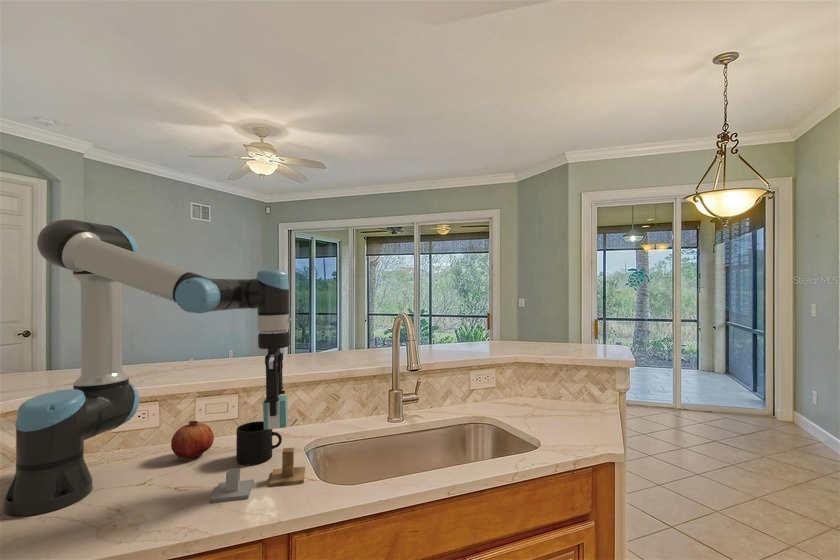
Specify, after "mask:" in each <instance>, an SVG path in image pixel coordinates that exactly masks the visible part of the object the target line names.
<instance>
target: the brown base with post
mask: <svg viewBox="0 0 840 560" xmlns="http://www.w3.org/2000/svg"><path fill="white" fill-rule="evenodd" d="M281 455H282V457H281V459H282V461H281V463H282V464H281V467H282V468H274V469H272V473H271V476H270V480H269V483H268V484H269V485H268V486H269V488H271V487H279V486H286V485H287V486H288V485H289V486H290V485H300V484H304V482H305V474H306V473H305V472H306V466H296V467H295V466H294V465H295V460H294V459H295V447H284V448H282V453H281Z"/></svg>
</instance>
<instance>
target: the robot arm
mask: <svg viewBox="0 0 840 560" xmlns="http://www.w3.org/2000/svg"><path fill="white" fill-rule="evenodd" d="M36 242H37V243H36V246H37V249H38V251H39V252H38V253H40V255H41V256H42V257H43V258H44V259H45V261H47V262H48V263H51V264H53V265H55V266H56V267H60V268H64V269H67V270H68V271H72V276H73V277H74V278H75V279H76V280H78V282H79V283H80V376H79V377H78V378H77V379H76V380H75V381H73V383H72V385H73V387H72V389H69V388H68V389H61V390H60V389H59V390H56V391H53V392H46V393H42V394H38V395H36V396H33V397H31V398H29V399H27V400H26V401H24V402H22V403H21V404H20V405H19V407H18V409H17V413H16V420H15V423H14V424H15V435H16V436H15V450H16V451H15V472H14V475H13V478H12V480H11V482H10V485H9V488H8V490H7V492H6V495H5V497H4V501H3V512H4V513H5V514H6V515H8V516H12V517H15V516H16V517H20V516H21V517H25V516H33V515H35V516H36V515H39V514H43V513H48V512H53V511H56V510H59V509H62V508H65V507H67V506H70V505H73V504H75V503H77V502H79V501H81V500H82V499H84V498H86V497H87V496H88V495H89V494H90V493H91V492H92V490H93V483H94V482H93V477H92V474H91V472H90V470H89V467H88V465H87V463H86V461H85V458H84V455H85V454H84V451H85V450H84V448H85V447H84V445H85V444H84V443H85V441H86V440H88V439H91V438H93V437H96V436H99V435H101V434H103V433H105V432H108V431H112V430H115V429H118V428H119V427H120V426H122V425H124V424H126V423H127V422H129V421H130V420H131V419H132V418H133V417H134V415H136V412H137V410H138V409H139V405H140V394H139V391H138V390H137V389H136V388H135V385H134V384H133V383H131V382H130V381H129V380H130V379H129V377H130V376H129V375H128V374H126V373H125V372H123V354H122V353H123V348H122V347H123V345H122V344H123V341H122V340H123V337H122V335H123V333H122V332H123V331H122V330H123V329H122V326H123V325H122V322H123V321H122V315H123V314H122V311H123V310H122V304H123V303H122V285H125V286H128V287H132V288H134V289H137V290H140V291H142V292H145V293H148V294H151V295H154V296H156V297H159V298H162V299H164V300H168V301H170V302H173V303H175V304H177V305H178V307H179V308H181V310H182V311H185V312H186V313H190V314H191V313H195V314H204V313H210V312H218V311H228V310H244V309H245V310H246V309H248V310H249V309H252V310H253V309H256V310H257V316H256V317H257V331H258V332H259V333H258V334H257V344H258V345H257V346H258V348H259V349H261V350H267V354H266V355H265V357H264V364H265V390H266V392H265V393H266V394H265V396H266V397H265V398H266V400H265V399H264V400H263V402H264V403H267V405H268V429H272V430H274V429H281V428H280V403H279V398H278V396H283V395H285V394H286V390H283V389H284V384H283V367H284V365H283V361H284V353H283V352H281V349H285V348H289V347H290V344H291V343H290V342H291V341H290V337H291V336H290V334H291V333H290V332H289V331H288V330H290V322H292V317H289V316H290V285H289V275H288V272H287V271H285V270H273V269H271V270H268V269H267V270H259V271H258V272H257V273H256V277H255V278H252V279H249V278H247V279H245V278H242V279H238V278H237V279H233V278H232V279H231V278H221V279H220V278H209V277H206V276H203V275H201V274H199V273H198V274H197V273H195V272H191V271H189V270H186V269H183V268H180V267H177V266H174V265H172V264H168V263H166V262H163V261H161V260H158V259H155V258H152V257H149V256H146V255H144V254H141V253H139V246H138V244H137V241H136V239H135V238H134V237H133V235H131V234H130V233H129V232H128V231H127V230H125V229H123V228H119V227H115V226H113V225H107V224H102V223H94V222H89V221H83V220H77V219H59V220H56V221H52V222H50V223H49V224H47V225H45V226H44V227H43V228H42V229H41V231H40V232H39V233H38V236H37V239H36Z"/></svg>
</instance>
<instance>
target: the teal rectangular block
mask: <svg viewBox="0 0 840 560" xmlns="http://www.w3.org/2000/svg"><path fill="white" fill-rule="evenodd" d="M278 398H279V403H280V428H279V429H284V428H285V429H286V428H287V426H288V423H289V409H288V408H289V407H288V405H289V404H288V402H289V401H288V400H289V399H288V395H287V394H286V395H282V396H278ZM264 400H266V397H265V398H264ZM262 412H263V413H262V414H263V421H264V430H266V429H268V405H267V403H264V401H263V402H262Z"/></svg>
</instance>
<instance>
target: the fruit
mask: <svg viewBox="0 0 840 560" xmlns="http://www.w3.org/2000/svg"><path fill="white" fill-rule="evenodd" d="M187 423H188V424H185V425H183V426H181V427H180V428H178V429H177V430H176V431H175V433H174V434H173V435H172V438H171V443H170V448H171V450H172V452H173V453H174V455H175V456H177V457H179V458H185V459H191V458H196V457H198V456H200V455H203V454H204V453H205V452H207V451H208V450H209V449H210V448H211V447H212V445H213V443H214V439H215V436H214V433H213V430H212V429H211V427H210V425H208V424H206V423H202V422H199V421H198V420H190V421H188V422H187Z"/></svg>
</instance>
